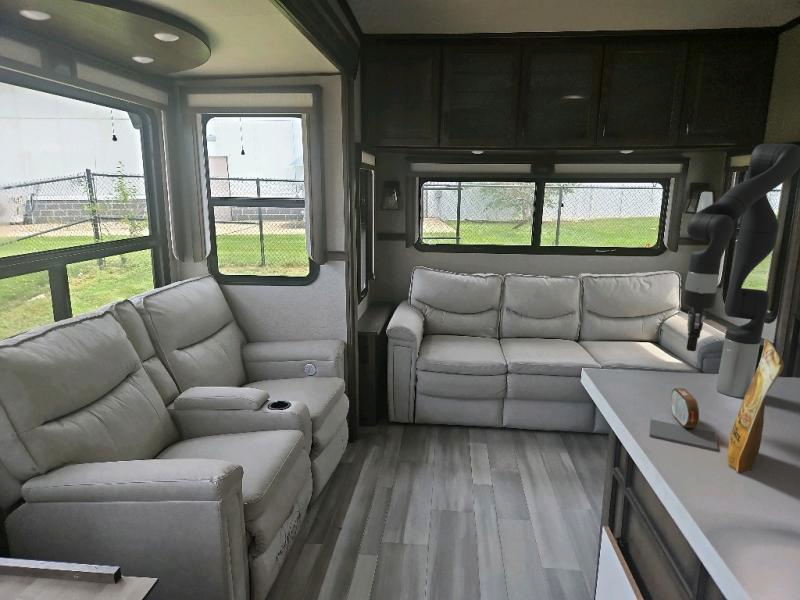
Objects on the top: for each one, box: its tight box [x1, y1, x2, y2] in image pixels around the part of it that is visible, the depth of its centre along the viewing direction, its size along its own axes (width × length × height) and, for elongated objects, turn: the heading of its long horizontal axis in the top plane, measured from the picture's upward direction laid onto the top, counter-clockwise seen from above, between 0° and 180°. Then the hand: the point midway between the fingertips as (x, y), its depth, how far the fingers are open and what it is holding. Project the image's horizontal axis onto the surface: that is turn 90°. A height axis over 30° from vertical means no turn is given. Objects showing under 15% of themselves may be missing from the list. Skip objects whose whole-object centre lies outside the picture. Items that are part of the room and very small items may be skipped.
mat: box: [649, 419, 719, 452], centre depth 133 cm, size 10×15×1 cm, turn 63°
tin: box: [670, 387, 700, 429], centre depth 139 cm, size 15×3×8 cm, turn 168°
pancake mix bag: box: [727, 338, 785, 473], centre depth 119 cm, size 7×19×28 cm, turn 146°
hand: (690, 350), depth 143 cm, fingers closed
